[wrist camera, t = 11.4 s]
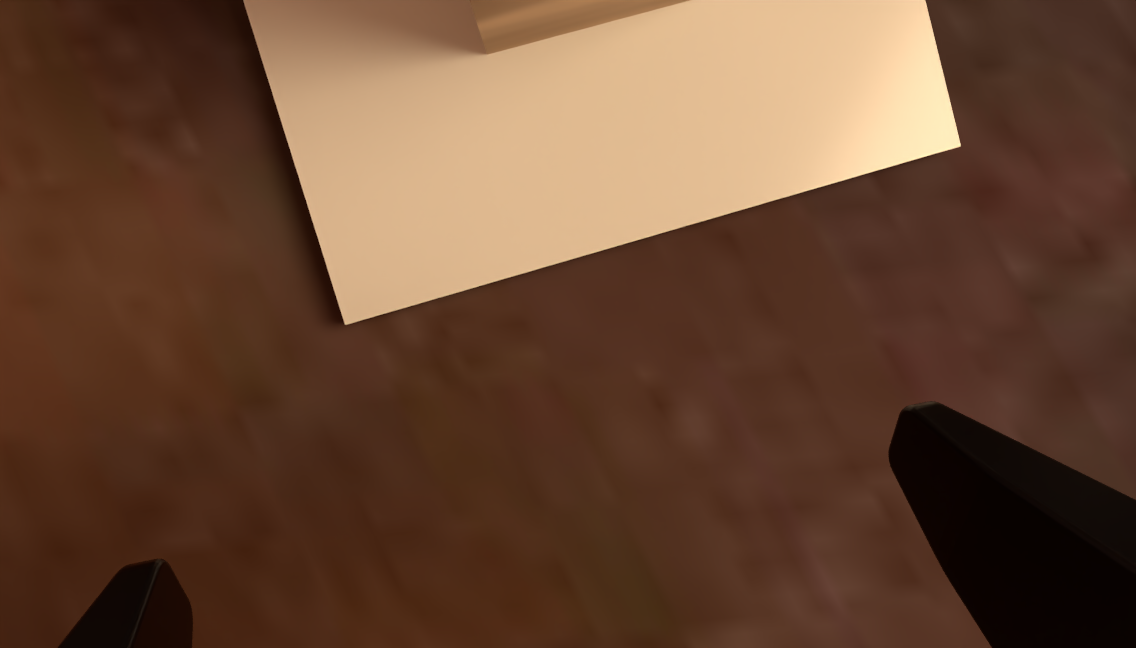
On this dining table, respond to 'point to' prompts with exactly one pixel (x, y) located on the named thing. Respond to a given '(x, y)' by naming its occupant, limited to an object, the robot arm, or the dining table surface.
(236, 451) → the dining table surface
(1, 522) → the dining table surface
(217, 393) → the dining table surface
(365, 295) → the tile
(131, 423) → the dining table surface
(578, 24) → the wood block
